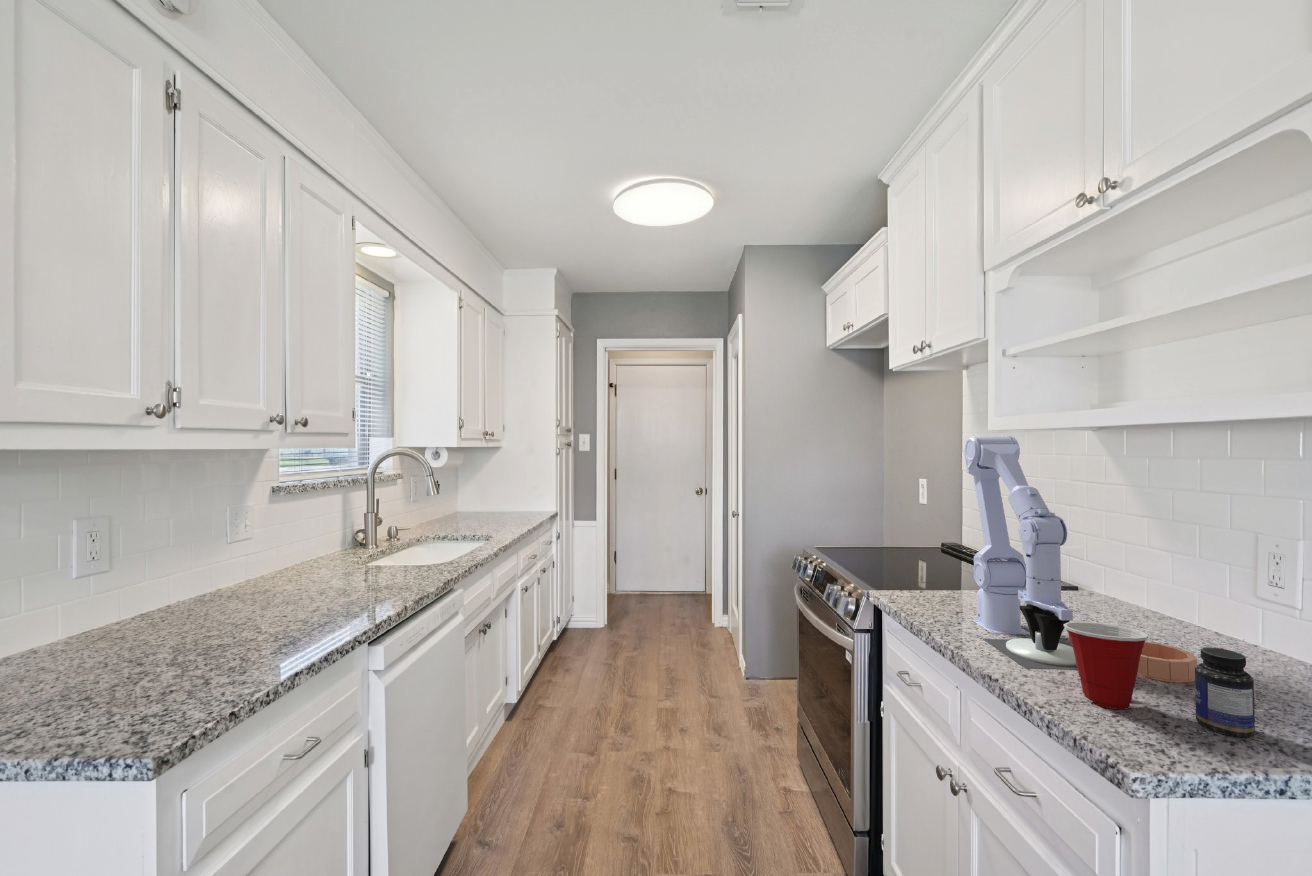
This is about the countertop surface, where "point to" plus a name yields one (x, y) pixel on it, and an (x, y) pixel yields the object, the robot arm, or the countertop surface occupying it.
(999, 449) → the robot arm
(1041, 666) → the mat
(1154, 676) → the bowl
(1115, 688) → the plastic cup
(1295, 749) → the countertop surface
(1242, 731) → the pill bottle
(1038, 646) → the lid
